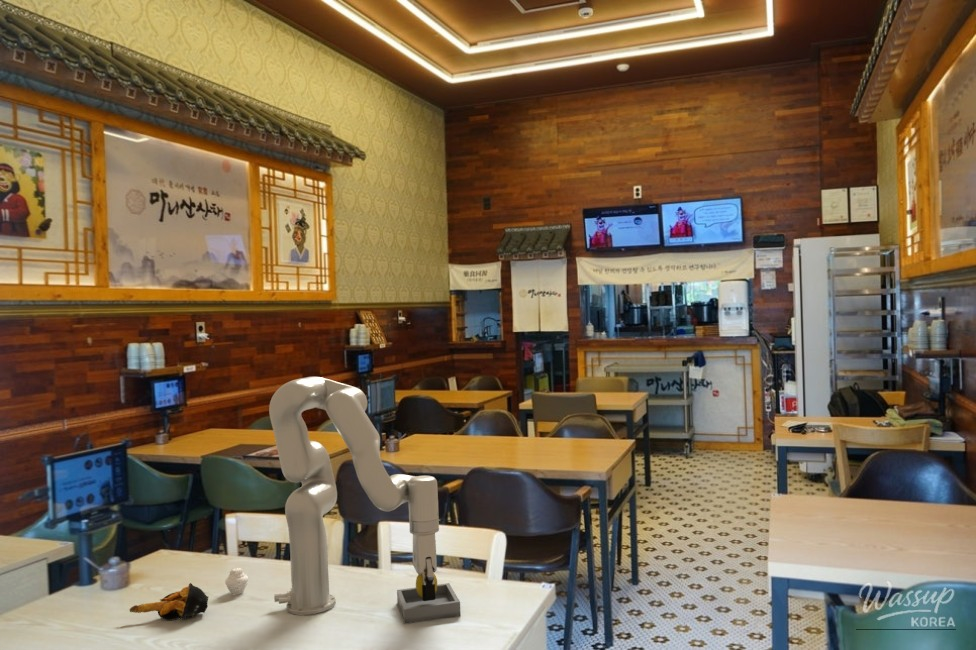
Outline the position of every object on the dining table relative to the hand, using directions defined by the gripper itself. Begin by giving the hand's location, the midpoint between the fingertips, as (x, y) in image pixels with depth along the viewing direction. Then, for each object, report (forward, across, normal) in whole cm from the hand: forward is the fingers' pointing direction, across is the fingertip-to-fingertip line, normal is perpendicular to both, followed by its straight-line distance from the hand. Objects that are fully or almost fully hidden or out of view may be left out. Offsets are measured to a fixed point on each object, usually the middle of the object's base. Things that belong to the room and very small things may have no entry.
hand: (426, 595), depth 189 cm
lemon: (+1, 0, 0) cm, 1 cm away
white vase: (+4, -31, -49) cm, 58 cm away
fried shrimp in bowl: (+4, -18, -64) cm, 66 cm away
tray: (+4, 0, 0) cm, 4 cm away
